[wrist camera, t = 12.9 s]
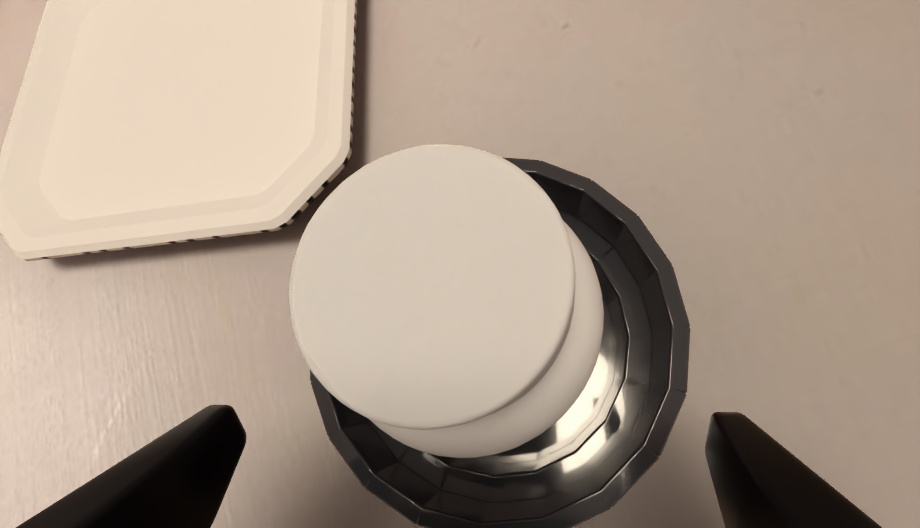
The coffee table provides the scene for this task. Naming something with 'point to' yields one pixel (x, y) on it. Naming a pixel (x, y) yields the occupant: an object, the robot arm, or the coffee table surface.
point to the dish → (586, 422)
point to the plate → (175, 122)
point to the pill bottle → (447, 301)
